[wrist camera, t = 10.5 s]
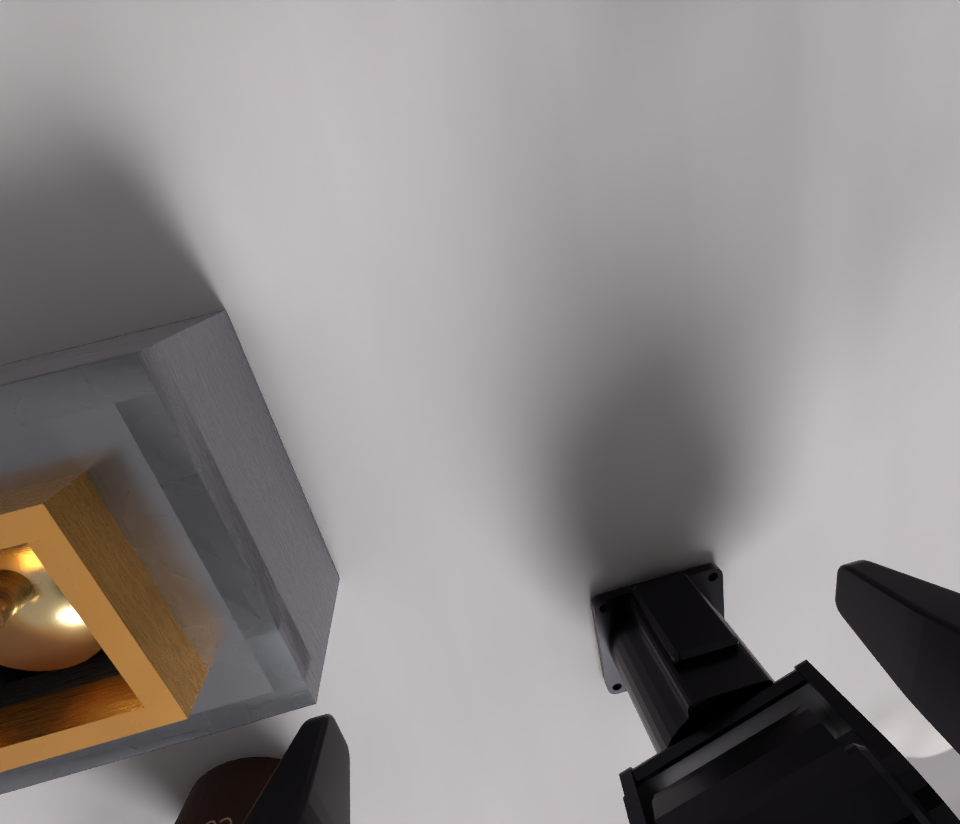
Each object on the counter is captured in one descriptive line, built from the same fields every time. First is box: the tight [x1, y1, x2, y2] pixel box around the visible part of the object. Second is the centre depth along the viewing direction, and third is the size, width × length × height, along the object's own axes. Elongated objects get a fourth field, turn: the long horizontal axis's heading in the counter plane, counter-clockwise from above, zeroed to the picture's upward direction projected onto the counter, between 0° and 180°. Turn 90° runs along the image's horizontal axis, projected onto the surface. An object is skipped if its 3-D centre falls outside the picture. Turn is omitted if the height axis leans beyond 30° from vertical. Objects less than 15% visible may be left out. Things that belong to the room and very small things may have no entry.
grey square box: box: [0, 310, 339, 794], centre depth 15 cm, size 12×12×8 cm
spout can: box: [0, 543, 102, 671], centre depth 15 cm, size 4×4×8 cm
